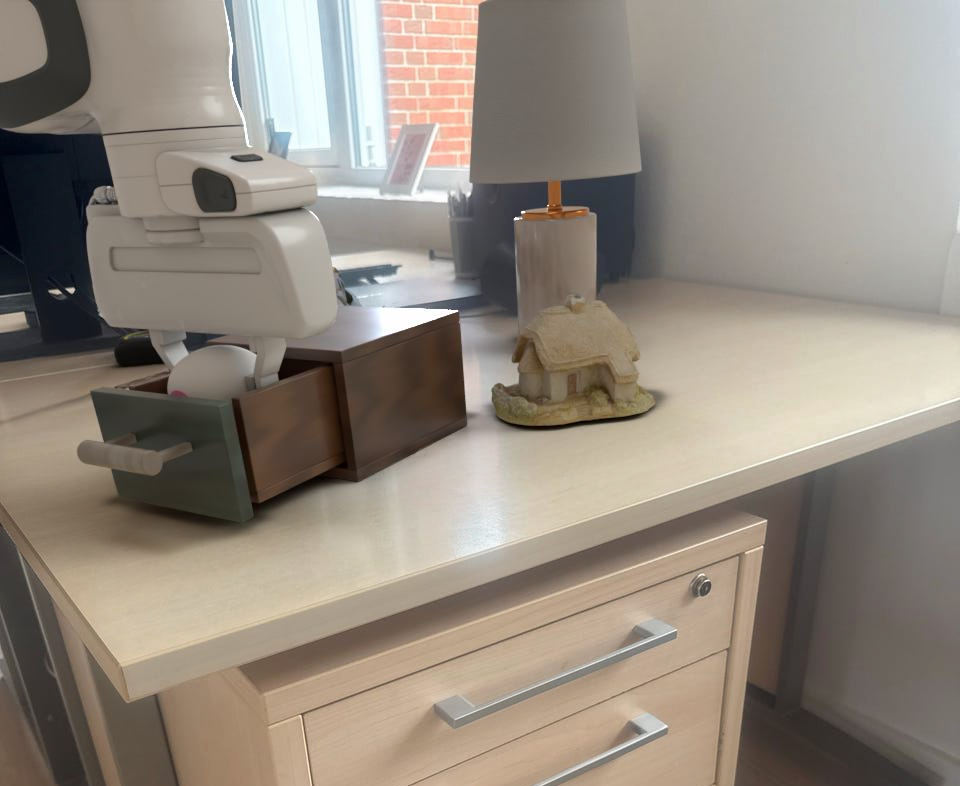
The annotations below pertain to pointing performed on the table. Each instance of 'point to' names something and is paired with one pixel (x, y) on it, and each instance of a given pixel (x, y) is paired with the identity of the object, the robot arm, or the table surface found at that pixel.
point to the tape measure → (136, 350)
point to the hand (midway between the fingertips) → (227, 395)
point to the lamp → (553, 129)
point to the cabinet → (387, 381)
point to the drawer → (218, 441)
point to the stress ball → (212, 373)
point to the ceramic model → (573, 368)
